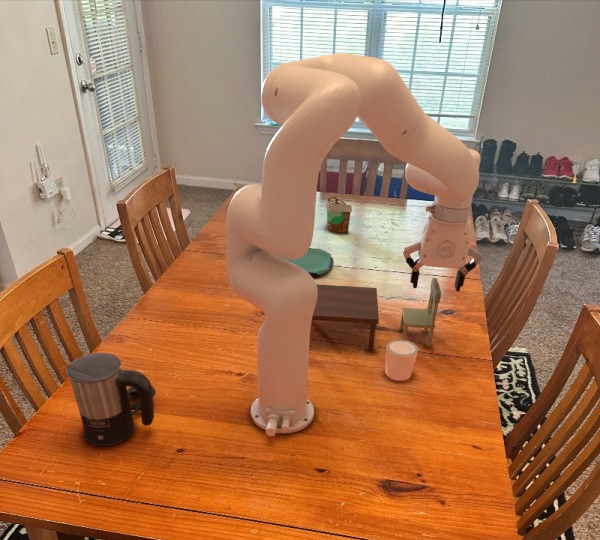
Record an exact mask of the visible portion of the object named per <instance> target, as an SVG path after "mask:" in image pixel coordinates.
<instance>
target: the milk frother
mask: <svg viewBox="0 0 600 540" xmlns="http://www.w3.org/2000/svg"><path fill="white" fill-rule="evenodd" d="M121 368H122V361H121V359H120V358H119V357H118V356H116V355H114V354H112V353H107V352H94V353H89V354H84V355H82V356H80V357H78V358H76V359H74V360H72V361H71V362H70V364H68V365H67V366H66V368H65V369H66V370H65V371H66V372H65V373H66V376H67V378H69V381H70V382H71V383H70V384H71V387H72V390H73V394H74V398H75V401H76V405H77V408H78V412H79V415H80V419H81V422H82V423H81V424H82V428H83V437H84V439H85V441H86V442H87V443H88V444H90V445H93V446H96V447H110V446H115V445H118V444H120V443H123V442H124V441H126V440H128V439H129V438H130V437H131V436H132V435H133V433H134V431H135V423H134V417H133V416H134V415H136V414H137V413H139V412H140V416H141V423H142V425H144V426H145V427H148V426H151V425H152V424H153V422H154V418H155V409H154V408H155V407H154V397H155V396H156V388H155V387H154V386H153V385H152V383H151V381H150V379H149V378H148V377H147V376H146V375H145V374H143V373H141V372H139V371H138V370H133V369H131V370H130V369H121ZM127 387H128V388H127ZM130 399H131V400H132V401H133V402H135V401H136V400H137V399H138V400H139V401H138V402H136V403H131V402H130Z"/></svg>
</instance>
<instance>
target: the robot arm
mask: <svg viewBox="0 0 600 540" xmlns="http://www.w3.org/2000/svg"><path fill="white" fill-rule="evenodd" d="M260 90H261V91H260V101H261V106H262V108H263V111H264V113H265V114H266V115H267V116H268V118H269V119H270V120H271V121H272V122H274V123H275V124H278V125H280V126H281V127H280V128H279V129H278V131H277V132H276V133H275V135H274V136H273V138H271V141H270V143H269V144H268V146H267V148H266V151H265V155H264V158H263V162H262V163H263V164H262V172H261V173H262V175H261V184H259V183H250V184H247V185H244V186H243V187H241V188H240V189H238V191H236V193H235V194H234V195H233V196H232V198H231V199H230V203H229V205H228V208H227V212H226V217H225V237H226V238H225V249H226V251H225V253H226V275H227V276H226V277H227V281H228V284H229V287H230V288H231V290H232V292H233V293H234V294H235V295H237V296H238V297H239V298H241V299H242V300H244V301H245V302H247V303H249V304H250V305H252V306H254V307H255V308H256V309H258V310H260V312H262V313H263V315H264V321H263V322H262V324H261V326H260V327H259V329H258V331H257V336H256V350H257V351H256V353H257V395H258V396H257V398H256V399H255V400H254V401H253V402H252V404H251V407H250V417H251V420H252V421H253V423H254V424H255V425H256V426H257V427H258V428H260V429H261V430H264V431H265V434H266V435H267V436H268V437H274V436H275V435H276V434H280V435H281V434H282V435H283V434H293V433H297V432H299V431H302V430H304V429H305V428H307V427H308V426H310V424H311V423H312V422H313V420H314V418H315V407H314V405H313V403H312V401H311V400H310V399H308V388H309V387H308V384H309V364H310V363H309V361H310V341H311V336H310V335H311V327H312V322H313V320H312V317H313V313H314V309H315V306H316V302H317V296H318V290H317V285H316V284H317V283H316V280H315V278H313V276H312V275H310V274H309V273H308V272H306V271H305V270H304V269H302V268H301V267H299V266H297V265H295V264H293V263H291V262H289V261H287V260H285V259H298V258H301V257H302V256H304V255H305V254H306V253H307V251H308V250H309V248H311V246H312V242H313V238H314V229H315V218H316V206H317V205H316V204H317V190H318V181H319V175H320V174H319V173H320V171H321V166H322V164H323V162H324V160H325V158H326V156H327V155H328V154H329V151H330V150H332V148H333V146H334V145H336V143H337V142H338V141H339V140H340V139H341V138H342V137H343V136H344V135H345V134H346V133H347V132H348V131H349V130H350V129H351V127H352V126H353V125H354V124H355V122H356V120H357V119H359V121H361V122H362V124H363V125H364V126H365V127H366V128H367V129H368V130H369V131H370V133H371V134H372V135H373V137H374V138H375V139H377V141H378V142H379V144H380V145H381V146H382V148H384V150H385V151H386V152H387V153H388V154H390V155H392V156H393V157H395V158H396V159H398V160H400V161H402V162H404V163H406V166H405V169H404V170H405V171H404V176H405V181H406V182H407V184H408V185H409V186H410V187H411V188H412V189H414V190H416V191H418V192H421V193H425V194H427V195H431V196H434V200H433V202H432V203H431V204H430V205H429V204H426V206H425V212H426V213H430V214H429V215H428V217H427V219H426V221H425V224H424V228H423V230H422V234H421V238H420V241H419V242H416V243H414V244H411V245H409V246H407V247H404V248H402V254H403V257H404V259H405V263H406V264H407V265H408V266H409V268H410V269H411V273H410V279H409V282H410V284H412V288H413V289H417V288H418V283H419V279H420V278H419V277H420V269H421V268H422V267H423V266H425V267H430V268H431V267H432V268H447V269H458V270H457V271H456V277H455V281H454V289H455V291H456V292H460V290H461V288H462V287H464V283H465V279H466V276H467V275H468V274H469V273H470V272H471V271H473V269H475V268H476V267H477V265H478V264H479V263H480V262H481V261H482V259H483V254H482V253H480V252H479V251H478V250H476V249H475V248H472V247H471V246H470V243H471V236H472V235H471V234H472V232H471V231H472V221H471V219H470V218H469V215H470V211H471V207H472V201H473V197H474V194H475V193H476V191H477V188H478V186H479V181H480V165H481V160H482V159H481V154H480V153H479V152H478V150H475V149H473V148H472V149H471V148H468V147H467V145H466V144H465V143H464V142H463V141H462V140H461V139H459V138H458V137H457V136H456V135H455V134H453V133H451V132H450V131H449V130H448V129H446V128H445V127H444V126H442V124H440V123H439V122H438V121H436V120H435V119H433V118H432V117H431V116H429V115H428V114H427V113H426V112H425V111H424V110H423V108H422V107H421V105H420V104H419V103H418V101H417V100H416V98H415V96H414V95H413V93H412V92H411V90H410V89H409V87H408V86H407V84H406V83H405V81H404V80H403V78H402V77H401V75H400V73H398V71H397V69H396V68H395V67H394V66H393V65H392V64H391V63H390V62H388V61H387V60H384V59H382V58H379V57H373V56H367V55H366V56H365V55H359V54H352V53H345V52H344V53H343V52H340V53H332V54H325V55H320V56H316V57H311V58H310V57H309V58H305V59H300V60H299V59H298V60H294V61H288V62H284V63H280V64H279V65H277V66H275V67H274V68H273V69H271V70H270V71H269V72H268V74H267V75H266V76H265V79H264V80H263V82H262V85H261V89H260ZM415 252H418V254H417V255H418V257H417V258H415V259H413V258H412V256H411V254H413V253H415ZM468 256H471V257H472V259H471V260H470V261H469V262H467V260H468ZM280 257H281V258H280ZM283 258H284V259H283Z"/></svg>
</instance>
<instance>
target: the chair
mask: <svg viewBox="0 0 600 540" xmlns="http://www.w3.org/2000/svg"><path fill="white" fill-rule="evenodd" d="M441 297H442V290H441V287H440V283H439V280H438V278H437V277H432V278H431V282H430V293H429V298H428V302H427V308H414V307H413V308H412V307H402V309H401V316H400V317H401V318H400V324H399V331H402V336H401V337H402V338H401V340H407V335H408V330H409V328H416V329H417V328H418V329H423V332H424V333H427V332H428V336H427V341H426V342H427V343H426V347H428V348H429V347H431V346H432V340H433V336H434V332H435V331H434V330H435V327H436V325H435V323H436V318H437V313H438V308H439V304H440V303H441V299H442V298H441ZM428 330H429V331H428Z"/></svg>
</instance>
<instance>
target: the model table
mask: <svg viewBox="0 0 600 540" xmlns="http://www.w3.org/2000/svg"><path fill="white" fill-rule="evenodd" d="M316 285H317V290H318V296H317V302H316V306H315V309H314V313H313V317H312V321H324V322H337V323H354V324H355V323H357V324H369V325H370V326H369V333H368V342H367V352H374V346H375V345H374V344H375V337H376V330H377V329H376V328H377V325H379V322H380V318H379V317H380V316H379V304H378V303H379V302H378V301H379V300H378V289H377V288H378V287H367V286H351V285H334V284H318V283H316Z"/></svg>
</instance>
